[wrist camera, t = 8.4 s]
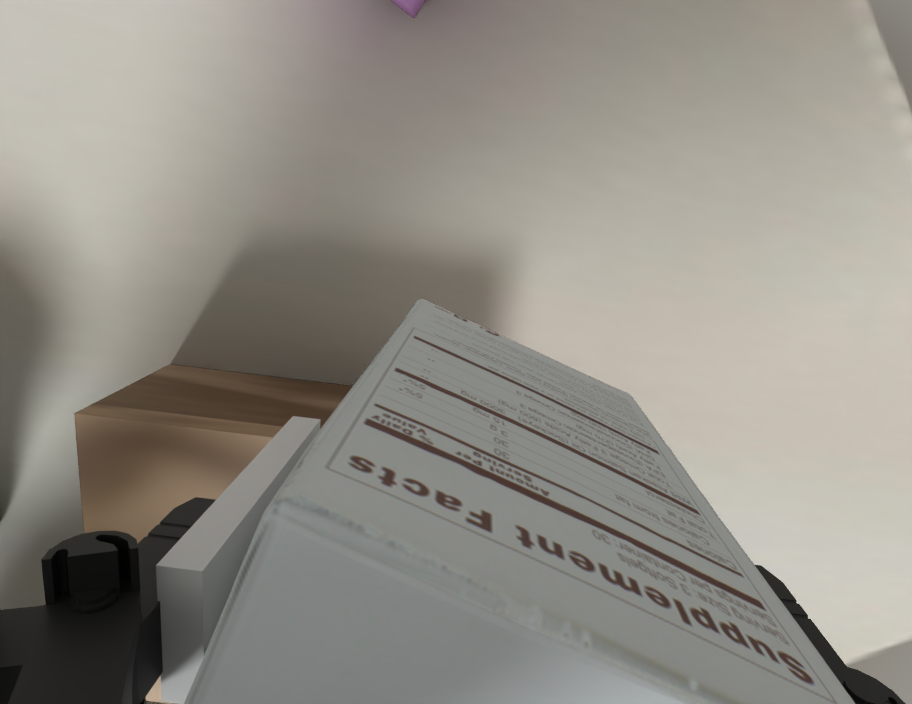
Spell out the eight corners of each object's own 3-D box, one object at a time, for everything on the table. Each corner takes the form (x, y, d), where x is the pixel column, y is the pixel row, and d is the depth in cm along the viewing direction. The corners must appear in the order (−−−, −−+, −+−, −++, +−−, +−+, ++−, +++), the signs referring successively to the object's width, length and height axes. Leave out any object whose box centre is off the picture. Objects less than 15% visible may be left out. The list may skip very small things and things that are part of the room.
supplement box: (528, 575, 20) (587, 1199, 7) (329, 484, 19) (41, 986, 7) (638, 391, 18) (968, 821, 5) (421, 285, 17) (246, 495, 5)
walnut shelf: (390, 621, 47) (364, 731, 37) (177, 593, 48) (97, 693, 38) (410, 392, 42) (385, 451, 32) (169, 364, 42) (74, 413, 33)
